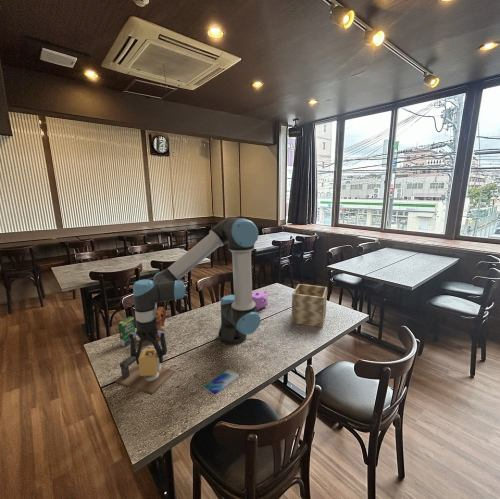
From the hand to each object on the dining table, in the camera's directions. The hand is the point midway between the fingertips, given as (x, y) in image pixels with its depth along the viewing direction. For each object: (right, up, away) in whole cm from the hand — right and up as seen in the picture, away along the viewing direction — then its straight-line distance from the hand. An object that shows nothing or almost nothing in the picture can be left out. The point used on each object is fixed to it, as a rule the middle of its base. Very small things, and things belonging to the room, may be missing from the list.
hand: (150, 369), depth 112 cm
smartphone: (+30, -5, -1) cm, 30 cm away
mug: (-8, +3, +34) cm, 35 cm away
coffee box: (-22, +1, +28) cm, 35 cm away
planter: (+78, +8, +55) cm, 95 cm away
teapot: (+46, +11, +71) cm, 85 cm away
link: (0, +1, +5) cm, 5 cm away
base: (-3, -4, +2) cm, 5 cm away
